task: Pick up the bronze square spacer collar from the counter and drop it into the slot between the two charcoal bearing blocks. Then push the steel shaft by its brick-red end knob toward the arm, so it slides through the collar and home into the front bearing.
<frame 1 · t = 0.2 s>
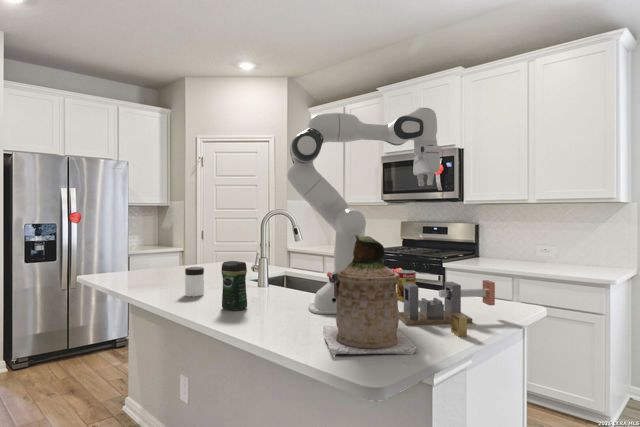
hand: (425, 185, 175), 48 cm above the counter, fingers open, 8 cm apart
shaft: (465, 293, 157), point 9 cm above the counter, slide at 0.0 cm
spacer: (458, 334, 138), on the counter
cookie jar: (366, 343, 131), on the counter
coffee jar: (234, 308, 174), on the counter
canned food: (406, 300, 189), on the counter
jar: (194, 295, 201), on the counter
shaft rig: (431, 319, 156), on the counter
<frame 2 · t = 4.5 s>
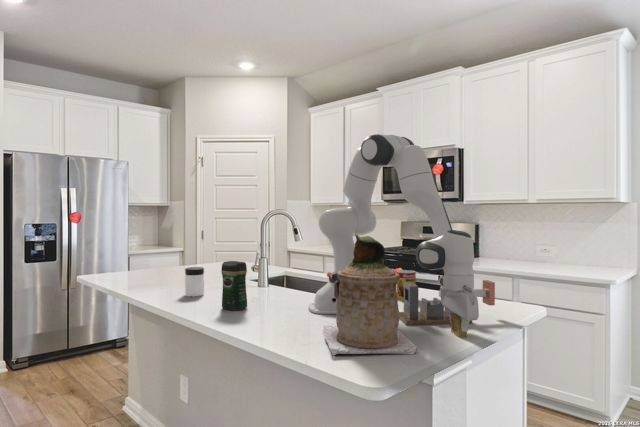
hand: (458, 327, 138), 2 cm above the counter, fingers closed on spacer, 6 cm apart
spacer: (458, 334, 138), on the counter, touching gripper
everything else where it was.
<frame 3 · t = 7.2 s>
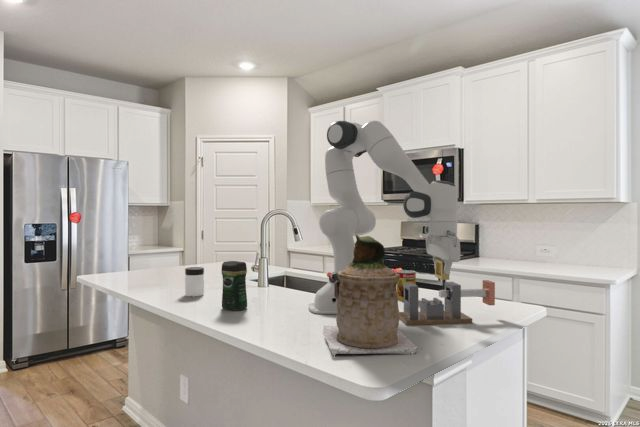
hand: (441, 271, 147), 18 cm above the counter, fingers closed on spacer, 6 cm apart
spacer: (441, 278, 147), point 16 cm above the counter, touching gripper
everything else where it was.
when the fingers open (10 cm above the counter, at t = 10.1 s): spacer stays where it is, resting on shaft rig.
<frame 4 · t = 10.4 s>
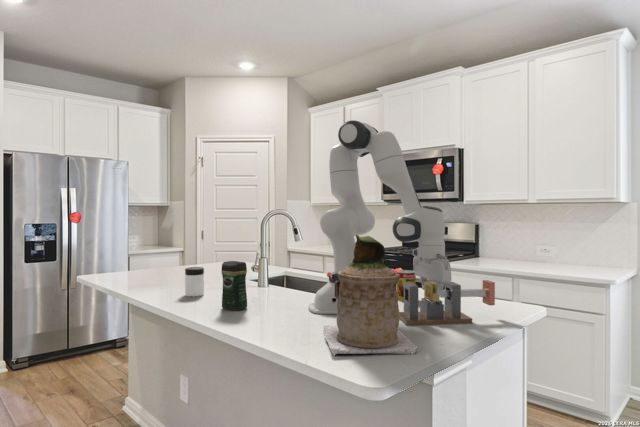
hand: (431, 292, 156), 10 cm above the counter, fingers open, 8 cm apart
spacer: (431, 299, 156), point 7 cm above the counter, touching shaft rig
everything else where it was.
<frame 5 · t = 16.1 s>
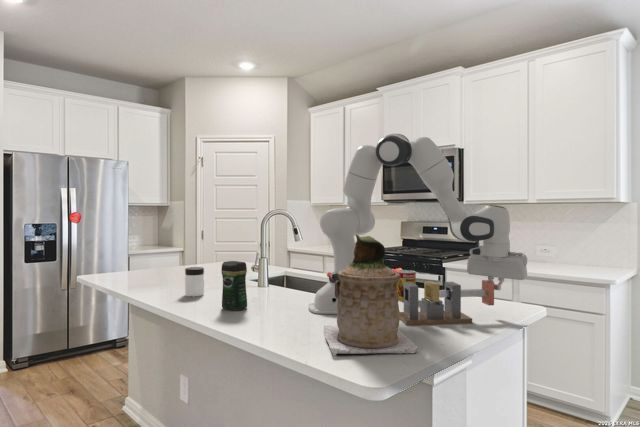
hand: (496, 289, 158), 10 cm above the counter, fingers closed
shaft: (465, 293, 157), point 9 cm above the counter, slide at 0.3 cm, touching gripper
everything else where it was.
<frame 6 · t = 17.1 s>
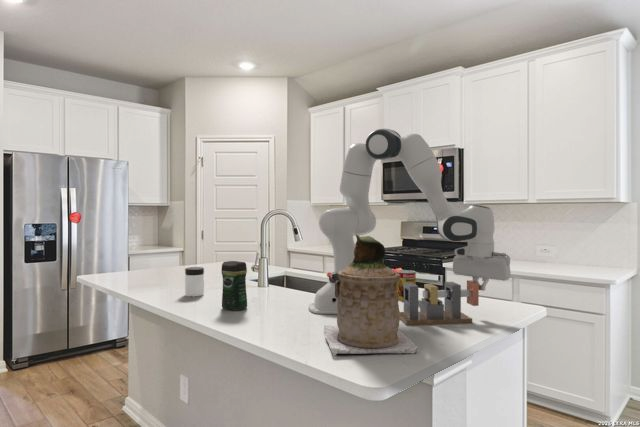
hand: (480, 290, 158), 10 cm above the counter, fingers closed
shaft: (449, 293, 156), point 9 cm above the counter, slide at 5.9 cm, touching gripper
spacer: (430, 302, 156), point 6 cm above the counter, touching shaft rig
everything else where it was.
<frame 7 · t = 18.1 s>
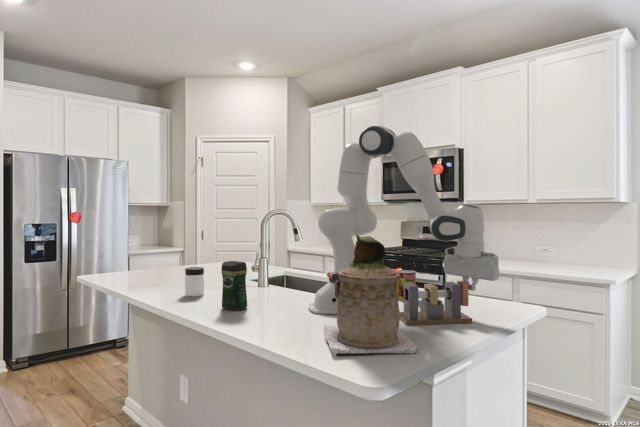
hand: (470, 290, 157), 10 cm above the counter, fingers closed
shaft: (439, 293, 156), point 9 cm above the counter, slide at 9.6 cm, touching gripper
everything else where it was.
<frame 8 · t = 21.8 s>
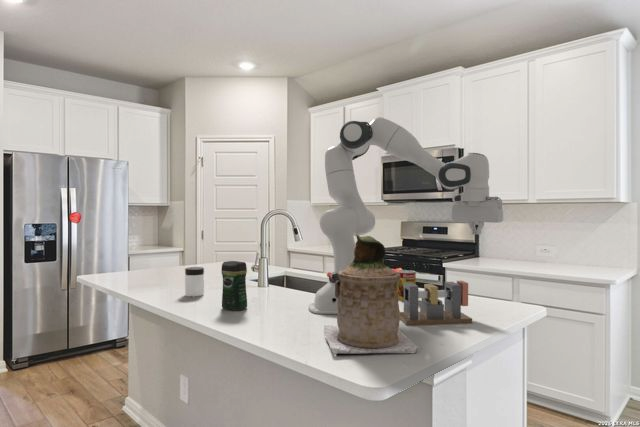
hand: (476, 234, 165), 29 cm above the counter, fingers closed
shaft: (439, 293, 156), point 9 cm above the counter, slide at 9.7 cm
everything else where it was.
at the end: shaft slide at 9.7 cm; spacer 0.3 cm off-centre on the shaft rig, point 6.0 cm above the shaft rig's base; the gripper is holding nothing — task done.
